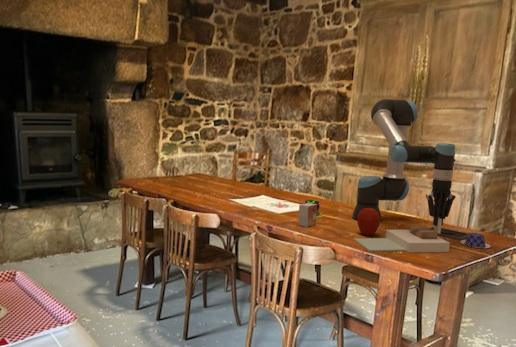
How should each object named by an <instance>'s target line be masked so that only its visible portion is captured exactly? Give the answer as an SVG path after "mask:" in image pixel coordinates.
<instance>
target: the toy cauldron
mask: <svg viewBox="0 0 516 347" xmlns="http://www.w3.org/2000/svg"><path fill="white" fill-rule="evenodd" d="M310 195H311V194H310ZM310 195H308V196H307V197H311V196H310ZM315 196H316V197H315V198H317V195H315ZM307 197H305V199H307V200H303V201H301V202H302V204H306V203H312V204H317V215H316V219H319V217H321V218H323V217H322V216H321V214H320V213H321V212H319V210H320V207H321V206H320V205H321V204H323V202H320V201H319V200H316V199H312V198H310V199H308V198H307ZM319 215H320V216H319Z"/></svg>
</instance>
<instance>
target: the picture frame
mask: <svg viewBox="0 0 516 347" xmlns="http://www.w3.org/2000/svg"><path fill="white" fill-rule="evenodd" d="M429 228H430V229H432V230H434V226H431V227H429ZM469 233H470V232H464V231H459V230H455V229H450V228H446V227H441V233H440V234H438V235H437V237H441V238H442V237H443V238H447V239H451V240H455V241H461V240H466V239H467V237H468V234H469Z"/></svg>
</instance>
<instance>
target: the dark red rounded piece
mask: <svg viewBox="0 0 516 347" xmlns="http://www.w3.org/2000/svg"><path fill="white" fill-rule="evenodd" d="M380 222H381V221H380V217H379V214H378V212H377V211H376V210H375V209H373V208H370V206H369V208H364V209H362V210H361V211H360V212H359V214H358V220H357V226H358V229H359V231H360V233H361V234H362V235H363V236H372V235H374V234H375V233H377V230H378V229H379V227H380Z"/></svg>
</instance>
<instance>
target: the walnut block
mask: <svg viewBox="0 0 516 347" xmlns="http://www.w3.org/2000/svg"><path fill="white" fill-rule="evenodd" d="M430 228H431V227H427V226H425V225H410V226H409V230H410V231H409V233H411V234H413V235H415V236H417V237H419V238H420V239H437V237H438V236H437V235H438V232H436V231H434V230H432V229H430Z"/></svg>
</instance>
